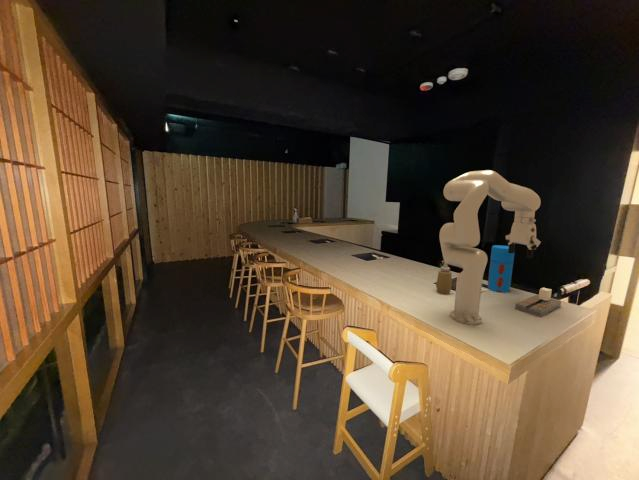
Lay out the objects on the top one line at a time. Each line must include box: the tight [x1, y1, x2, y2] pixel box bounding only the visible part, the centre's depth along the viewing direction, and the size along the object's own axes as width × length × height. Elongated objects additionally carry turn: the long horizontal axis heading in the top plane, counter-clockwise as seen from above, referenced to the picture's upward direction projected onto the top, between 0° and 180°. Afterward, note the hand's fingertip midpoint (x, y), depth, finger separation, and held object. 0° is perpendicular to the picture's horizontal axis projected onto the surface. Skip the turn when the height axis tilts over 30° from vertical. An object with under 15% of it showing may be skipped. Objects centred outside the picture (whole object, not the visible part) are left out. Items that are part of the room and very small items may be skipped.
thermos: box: [487, 244, 515, 294], centre depth 153 cm, size 11×11×25 cm
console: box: [514, 294, 562, 318], centre depth 129 cm, size 22×10×3 cm, turn 121°
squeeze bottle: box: [435, 261, 453, 295], centre depth 148 cm, size 8×8×18 cm
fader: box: [538, 287, 553, 302], centre depth 132 cm, size 4×3×6 cm
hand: (520, 255), depth 132 cm, fingers open, 9 cm apart
